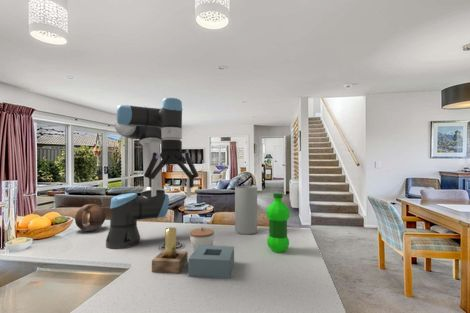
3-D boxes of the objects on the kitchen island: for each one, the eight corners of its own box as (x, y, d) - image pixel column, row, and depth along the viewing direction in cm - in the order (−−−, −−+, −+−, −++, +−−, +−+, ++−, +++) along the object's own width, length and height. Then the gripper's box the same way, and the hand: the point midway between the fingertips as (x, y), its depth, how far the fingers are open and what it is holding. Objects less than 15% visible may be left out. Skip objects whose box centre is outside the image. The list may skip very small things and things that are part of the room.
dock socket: (188, 276, 85) (188, 258, 85) (198, 260, 99) (198, 245, 99) (229, 278, 83) (229, 260, 83) (233, 261, 97) (234, 246, 97)
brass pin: (163, 268, 91) (163, 230, 91) (167, 264, 95) (167, 227, 95) (173, 269, 90) (174, 230, 91) (177, 264, 94) (177, 227, 95)
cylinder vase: (243, 227, 148) (243, 185, 149) (261, 231, 141) (261, 186, 142) (230, 232, 138) (230, 187, 139) (249, 236, 131) (249, 188, 131)
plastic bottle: (270, 245, 117) (270, 191, 117) (292, 248, 112) (292, 193, 113) (263, 252, 108) (262, 194, 108) (287, 256, 103) (286, 195, 104)
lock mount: (151, 271, 88) (151, 260, 88) (162, 260, 98) (163, 250, 98) (179, 273, 87) (179, 261, 87) (187, 261, 97) (187, 251, 97)
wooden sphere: (87, 226, 150) (88, 201, 150) (110, 227, 148) (111, 202, 148) (67, 233, 135) (68, 206, 135) (93, 235, 133) (93, 206, 133)
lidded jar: (204, 243, 119) (204, 223, 120) (218, 249, 112) (218, 227, 112) (185, 248, 112) (185, 227, 112) (199, 255, 104) (199, 232, 104)
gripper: (135, 139, 91) (134, 197, 91) (201, 138, 89) (201, 198, 88) (144, 141, 99) (144, 194, 98) (206, 140, 96) (206, 195, 96)
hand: (171, 196), depth 93 cm, fingers open, 13 cm apart
